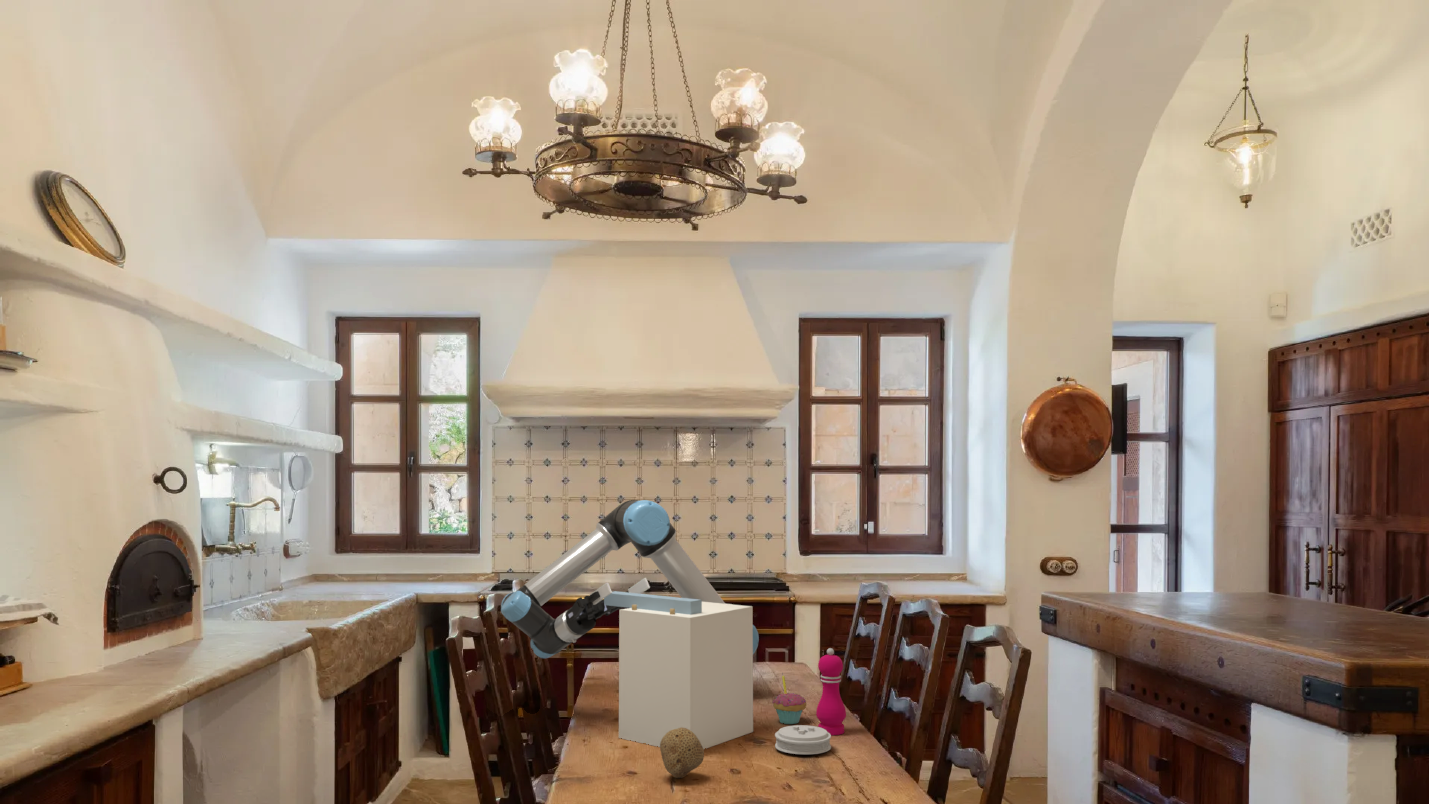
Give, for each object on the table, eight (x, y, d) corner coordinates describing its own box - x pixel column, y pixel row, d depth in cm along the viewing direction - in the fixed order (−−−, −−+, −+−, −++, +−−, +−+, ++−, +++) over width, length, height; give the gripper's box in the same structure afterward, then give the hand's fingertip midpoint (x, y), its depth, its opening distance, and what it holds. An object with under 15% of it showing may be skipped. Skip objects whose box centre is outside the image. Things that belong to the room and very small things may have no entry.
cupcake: (767, 723, 242) (767, 674, 243) (781, 716, 250) (781, 668, 250) (798, 727, 238) (798, 678, 239) (812, 720, 246) (811, 672, 246)
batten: (604, 604, 240) (604, 592, 240) (615, 603, 243) (615, 591, 243) (690, 614, 223) (690, 601, 223) (701, 612, 226) (701, 599, 226)
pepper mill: (845, 736, 230) (844, 651, 231) (814, 735, 231) (814, 650, 233) (847, 729, 237) (846, 646, 238) (817, 727, 238) (817, 645, 240)
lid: (786, 760, 211) (785, 737, 211) (767, 745, 223) (767, 723, 224) (839, 756, 214) (839, 733, 215) (818, 741, 227) (818, 719, 227)
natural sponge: (703, 771, 203) (703, 722, 204) (704, 784, 194) (704, 733, 195) (660, 771, 203) (660, 722, 204) (659, 784, 194) (659, 734, 195)
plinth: (618, 737, 229) (619, 604, 231) (683, 718, 248) (683, 595, 250) (690, 754, 215) (690, 612, 218) (753, 731, 234) (752, 601, 237)
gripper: (615, 629, 257) (667, 594, 246) (544, 642, 237) (597, 604, 227) (605, 603, 260) (656, 567, 249) (534, 614, 240) (586, 575, 230)
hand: (628, 585), depth 238 cm, fingers open, 13 cm apart
